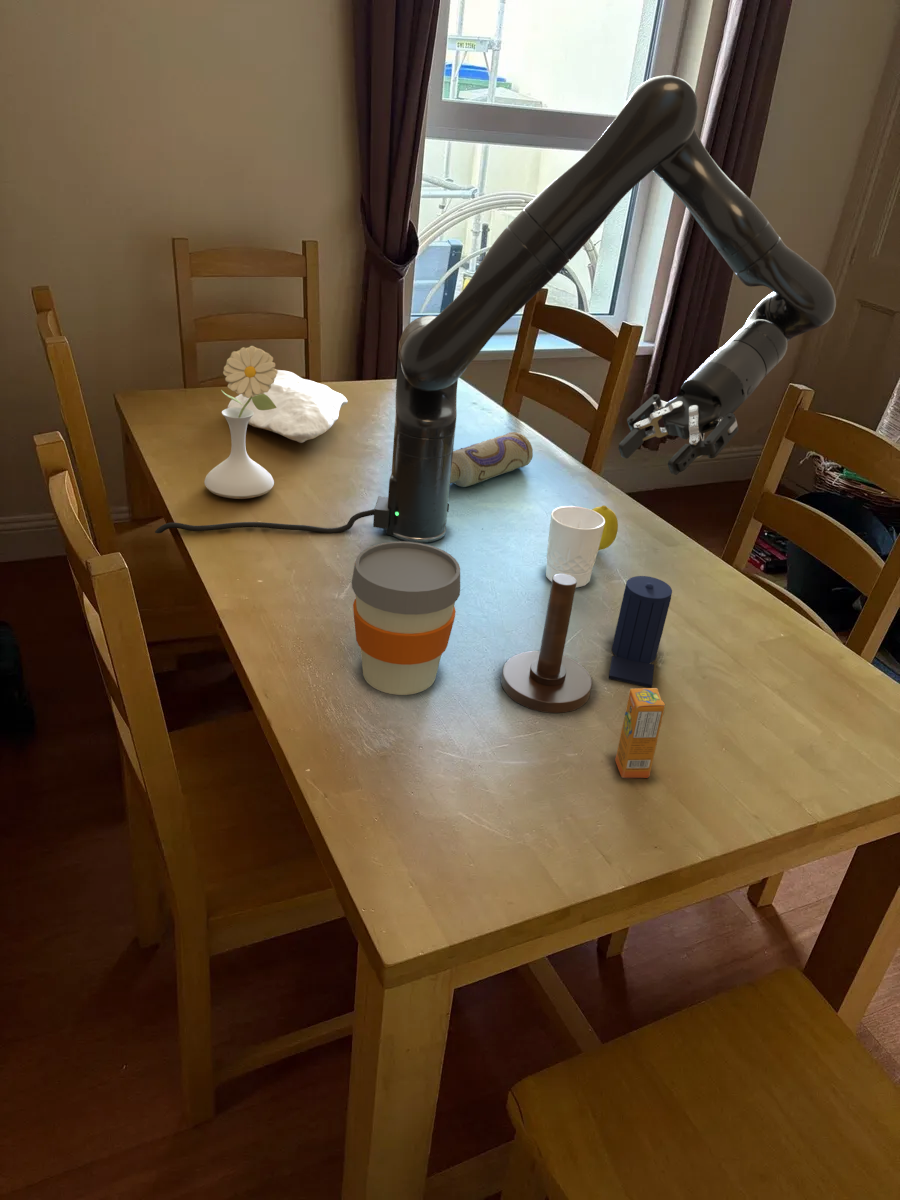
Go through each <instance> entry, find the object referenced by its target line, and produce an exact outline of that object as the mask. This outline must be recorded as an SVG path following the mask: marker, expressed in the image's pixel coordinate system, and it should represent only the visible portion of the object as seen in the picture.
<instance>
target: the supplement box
mask: <svg viewBox="0 0 900 1200" xmlns="http://www.w3.org/2000/svg"><path fill="white" fill-rule="evenodd" d="M659 691H660V690H659V689H658V687H651V688H650V687H639V688H638V687H637V688H635V687H634V688H630V689H629V694H628V698H627V704H626V708H625V711H624V717H623V721H622V727H621V731H620V735H619V736H620V737H619V740H618V745H617V750H616V755H615V758H614V761H615V763H616V767H617V769H618V772H619V775H620V777H621V778H622V779H647V778H648V779H649V778H650V775H651V771H652V767H653V763H654V758H655V754H656V749H657V745H658V740H659V735H660V731H661V727H662V723H663V717H664V712H665V706H666V704H665V702H664V701H663V699H662V697H661V696H660V693H659Z"/></svg>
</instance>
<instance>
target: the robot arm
mask: <svg viewBox="0 0 900 1200" xmlns="http://www.w3.org/2000/svg"><path fill="white" fill-rule="evenodd" d="M697 97H698V96H697V95H696V91H695V90H694V89H693V87H692V85H691V84H690V83H689V82H688V81H686V80H685V79H683V78H681V77H678V76H674V75H667V74H666V75H658V76H655V77H652V78H649V79H647V80H646V81H644V82H642V83H641V84H640V85H638V86H637V87H636V88H635V89H634V91H633V92H632V93H631V95H630V96H629V97H628V98H627V100H626V101H625V103H624V105H623V107H622V109H621V110H620V111H619V113H618V114H617V116H616V117H615V118H614V119H613V120H612V122H611V123H610V124H609V126H608V127H607V128H606V129H605V131H604V132H603V133H602V134H601V136H600V137H599V138H598V139H597V140H596V142H594V144H593V145H591V147H590V148H589V149H588V150H587V151H586V153H584V155H583V156H582V157H581V158H579V159H578V160H577V161H576V162H574V163H573V164H572V165H571V166H570V167H569V168H567V169H566V170H565V171H564V172H563V173H561V174H560V175H559V176H558V177H557V178H555V179H554V180H553V181H552V182H550V183H549V184H548V185H547V186H546V187H545V188H544V189H543V190H542V191H541V192H540V193H539V194H537V195H536V196H535V197H534V198H533V200H531V201H530V202H529V203H528V204H527V205H525V207H524V208H523V209H522V210H521V211H520V212H519V213H518V214H517V215H516V217H515V218H514V219H513V220H512V221H511V222H510V223H509V224H508V225H507V226H506V227H505V228H504V230H502V232H501V233H500V234H499V236H497V238H496V240H495V241H494V242H493V243H492V245H491V247H489V249H488V251H487V253H486V254H485V255H484V257H483V259H482V260H481V262H480V263H479V265H478V267H477V268H476V270H475V272H474V273H473V275H472V276H471V278H470V280H469V281H468V282H467V284H466V285H465V287H464V289H462V291H461V292H460V293H459V294H458V295H457V296H456V297H455V298H454V300H453V301H451V302H450V304H448V305H447V306H446V307H445V308H444V309H443V310H441V312H440V313H439V314H437V315H423V316H419V317H417V318H415V319H413V320H412V321H411V322H410V323H409V324H407V325H406V326H405V328H404V330H403V331H402V333H401V335H400V338H399V342H398V349H397V350H398V351H397V362H396V363H397V365H396V381H395V383H396V384H395V386H396V387H395V398H394V402H395V403H394V405H395V406H394V427H393V429H394V431H393V446H392V460H391V473H390V477H389V480H388V496H381V495H378V497H377V499H376V500H377V501H376V504H375V505H374V509H369V510H364V511H360V512H358V513H355V514H354V515H352V516H351V517H350V518H349V520H348V521H347V523H346V524H344V525H342V526H338V527H321V526H314V525H307V524H288V523H276V522H274V523H273V522H262V521H239V522H238V521H237V522H226V523H216V524H205V525H204V524H203V525H192V524H187V523H181V522H175V521H174V522H167V523H164V524H162V525H160V526H159V527H158V528H157V529H156V530H155V531H154V533H155V534H162V533H163V532H165V531H167V530H169V529H179V530H183V531H189V532H210V531H219V530H230V529H241V528H242V529H245V528H246V529H247V528H249V529H250V528H253V529H255V528H258V529H272V530H273V529H274V530H283V531H301V532H302V531H303V532H304V531H305V532H311V533H317V534H338V533H339V534H341V533H344V532H346V531H349V530H350V529H351V528H352V527H353V526H354V524H355V522H356V521H358V520H359V519H362V518H366V517H371V516H373V524H372V527H373V528H377V529H378V528H379V529H385V535H387V536H393V537H395V538H396V539H399V540H401V541H404V542H416V543H422V544H425V543H431V542H436V541H438V540H441V539H442V538H443V537H444V536H445V535H446V533H447V532H446V531H447V517H448V516H447V515H448V513H449V512H450V511H449V509H450V503H449V497H450V486H451V483H450V477H451V467H452V457H453V451H454V447H455V436H456V426H457V416H458V415H457V414H458V412H457V396H458V395H457V393H458V382H459V381H458V380H459V378H460V377H461V376H462V375H463V374H464V372H465V371H466V370H467V369H468V367H469V366H470V365H471V364H472V362H473V361H474V360H475V358H476V357H477V356H478V355H479V353H480V352H481V351H482V350H483V348H485V346H486V345H487V344H488V342H489V341H490V340H491V339H492V338H493V337H494V335H495V334H496V333H497V332H498V331H499V330H500V329H501V328H502V327H503V326H504V325H505V324H506V323H507V322H508V321H509V320H510V319H511V318H512V317H513V316H515V315H516V314H517V313H518V312H519V311H521V309H522V308H524V307H525V305H527V303H528V302H530V301H531V300H532V299H533V297H535V296H536V295H537V294H538V293H539V292H540V291H541V290H542V289H543V288H544V287H545V286H546V285H547V284H548V283H550V281H551V280H552V279H554V277H555V276H557V274H558V273H560V271H561V270H562V269H563V268H565V266H566V265H567V264H568V263H570V261H571V260H572V259H573V258H574V257H575V256H576V255H577V254H578V253H579V252H580V250H581V249H582V248H583V247H584V246H585V245H586V243H587V242H588V241H589V240H590V239H591V238H592V236H593V235H594V234H595V233H596V232H597V230H599V228H600V227H601V226H602V224H604V222H605V221H606V220H607V218H608V217H609V215H610V214H611V213H612V211H613V210H614V209H615V208H616V207H617V205H618V204H619V203H620V202H621V200H623V198H624V197H625V196H626V195H627V194H629V192H631V191H632V189H633V188H635V186H636V185H638V184H639V183H640V182H641V181H642V180H643V179H645V178H646V177H647V176H648V175H649V174H650V173H651V172H653V173H654V174H656V175H657V176H658V177H659V178H660V179H661V180H662V181H663V182H664V183H665V184H666V185H667V187H669V189H670V190H671V191H672V192H673V193H674V194H675V195H676V196H677V197H678V199H679V200H680V201H681V202H682V204H683V205H684V206H685V207H686V208H687V210H688V211H689V213H690V214H691V215H692V216H693V219H695V221H696V222H697V223H698V225H699V226H700V227H701V229H702V230H703V232H704V233H705V235H706V236H707V238H708V239H709V241H710V242H711V243H712V244H713V246H714V247H715V249H716V250H717V251H718V253H719V254H720V255H721V257H722V258H723V259H724V261H725V262H726V263H727V265H728V266H729V268H730V269H731V270H732V272H733V273H734V274H735V275H736V277H737V279H739V280H740V282H742V284H743V285H745V286H747V287H752V288H753V287H766V288H768V289H770V290H771V291H772V292H770V293H769V294H768V295H766V296H765V297H764V298H763V299H761V301H760V302H759V303H758V304H757V305H756V306H755V308H754V309H753V310H752V312H751V313H750V315H749V316H748V318H747V320H746V321H745V323H744V325H743V326H742V327H741V328H740V329H739V330H738V331H737V332H736V333H735V334H734V335H732V337H731V338H730V339H729V340H728V341H727V342H725V344H723V345H722V346H721V347H719V348H718V349H717V350H716V351H714V352H713V353H712V354H711V355H710V356H709V357H708V358H707V359H706V360H705V361H704V362H703V363H702V364H701V365H700V366H699V367H698V368H697V369H696V370H695V371H694V372H693V373H692V374H691V375H690V376H689V377H688V378H687V379H686V380H685V381H684V382H683V383H682V385H681V386H680V389H679V392H678V394H677V396H676V397H674V398H673V399H670V400H669V401H666V400H662V399H661V397H660V394H653V395H652V396H651V397H649V398H648V399H647V400H645V402H644V403H643V404H642V405H640V406H639V408H637V409H636V410H635V411H633V413H632V414H630V416H628V417H627V418H626V422H627V424H628V428H629V429H630V432H629V433H628V434H627V435H626V436H624V438H623V439H622V440H621V441H620V442H619V444H618V452H619V454H620V457H621V458H624V459H629V458H630V457H631V456H632V455H633V454H634V453H635V452H636V451H637V450H638V449H639V448H640V447H641V446H642V445H643V444H644V441H647V440H649V439H652V438H655V437H656V438H659V439H660V438H663V437H665V436H673V437H680V438H681V439H683V440H688V443H684V444H683V445H682V446H681V447H680V448H679V449H678V451H677V452H675V454H674V455H673V456H672V457H671V458H670V459H669V460H668V462H667V466H668V469H669V473H670V474H672V475H674V476H677V475H679V474H680V473H682V472H684V471H685V470H686V469H687V468H688V467H689V466H690V465H691V464H692V463H693V462H694V461H695V460H696V459H700V458H702V457H703V456H707V458H708V459H715V458H716V457H717V456H719V454H720V453H721V452H722V451H723V449H724V448H725V447H726V446H727V445H728V444H729V443H730V441H731V440H732V439H733V438H734V437H735V435H736V434H738V432H739V426H738V421H737V418H736V415H735V412H736V411H737V410H738V409H739V408H740V407H741V406H742V404H744V403H745V401H746V400H747V399H748V398H750V396H751V395H752V394H753V393H754V392H755V390H757V388H758V387H759V385H760V384H761V382H762V381H763V380H764V379H765V378H766V377H767V376H768V375H769V374H770V373H771V372H772V370H774V369H775V367H777V365H778V364H779V363H780V362H781V361H782V360H783V358H784V357H785V355H786V353H787V350H788V342H789V341H791V340H792V339H793V338H795V337H797V336H800V335H802V334H805V333H807V332H810V331H813V330H815V329H818V328H820V327H822V326H824V325H825V324H827V323H829V321H831V319H832V317H833V316H834V314H835V311H836V305H837V300H836V294H835V291H834V288H833V286H832V284H831V282H830V281H829V279H828V278H827V277H826V276H825V275H824V274H823V273H822V272H821V271H819V269H817V268H816V267H815V266H813V265H812V264H810V262H809V261H807V260H806V259H805V258H804V257H802V256H801V255H800V254H798V253H797V252H796V251H794V250H793V249H791V248H789V247H788V246H787V245H786V244H785V242H784V241H783V239H782V237H780V235H779V233H777V231H776V230H775V229H774V227H773V225H772V224H771V223H770V221H769V219H768V218H767V217H766V215H764V213H763V212H762V211H761V210H760V208H759V207H758V206H757V205H756V203H754V201H753V200H752V199H751V198H750V197H749V196H748V195H747V194H746V193H744V191H743V190H742V189H741V188H739V187H738V185H736V184H735V182H734V181H733V180H732V179H731V178H729V177H728V175H727V174H726V173H725V172H724V171H723V170H722V169H721V168H720V166H719V165H718V164H717V162H716V161H715V160H714V159H713V158H712V156H711V155H710V153H709V152H708V150H707V149H706V147H705V146H704V144H703V142H702V141H701V139H700V137H699V134H698V133H697V131H696V125H697V122H698V117H699V104H698V98H697ZM660 420H663V425H664V427H661V426H660V423H659V421H660ZM650 426H651V427H652V428H651V429H649V430H645V429H646V428H648V427H650ZM710 431H711V432H710ZM708 432H710V433H709V434H708V435H707V436H706V438H705V434H706V433H708Z"/></svg>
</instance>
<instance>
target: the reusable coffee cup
mask: <svg viewBox="0 0 900 1200" xmlns="http://www.w3.org/2000/svg"><path fill="white" fill-rule="evenodd" d="M351 589H352V591H353V593H354V595H355V597H354V598H355V599H354V601H353V603H352V610H353V621H354V629H355V630H354V631H355V632H354V633H355V640H356V641H355V642H356V643H357V645H358V647H359V648H360V655H361V666H362V667H361V668H362V676H363V678H364V680H365V681H366V683H367V684H368V685H370V686H371V688H374V689H375V690H377V691H380V692H382V693H384V694H385V693H386V694H390V695H396V696H408V695H414V694H417V693H421V692H424V691H426V690H428V689H429V688H430V687H431V686H432V685H433V684H434V683H435V680H436V678H437V673H438V670H439V666H440V662H441V659H442V655H443V653H444V652H445V651H446V650H447V647H448V644H449V641H450V639H451V638H450V637H451V634H452V630H453V626H454V623H455V618H456V611H457V610H456V607H455V604H456V602H457V601H458V599H459V597H460V595H461V566H460V563H459V562H458V561H457V559H456V558H455V557H454V556H453V555H452V554H450V553H448V552H447V551H445V550H443V549H441V548H439V547H436V546H433V545H430V544H427V543H418V542H409V541H404V540H401V541H400V540H397V541H388V542H381V543H378V544H374V545H371V546H369V547H367V548H365V549H363V550H362V551H360V552H359V554H357V556H356V558H355V561H354V568H353V573H352V578H351Z"/></svg>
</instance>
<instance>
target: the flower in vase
mask: <svg viewBox="0 0 900 1200" xmlns="http://www.w3.org/2000/svg"><path fill="white" fill-rule="evenodd" d="M273 361H274V357H273V356H272V355H271V354H270V353H269V352H266V351H265V350H263V349H262V348H258V347H255V346H254V345H250V346H249V347H241V348H239V350H237V351H235V350H233V351H232V352H231V353H230V356H229V358H227V359H226V363H225V365H224V366H223V371H222V374H223V375H224V377H225V379H224V380H225V382H226V383H228V384H227V388H228V389H229V390H231V391H232V392H235V393H236V394H237V395H240V394H242V395H243V396H244V397H246V398H249V400H248V401H247V402H246V404H245V405H244V406H243V408H239V407H234V408H228V407H227V408H225V409H223V410H221V415H222V416H223V417H224V419H225V421H226V422H227V424H228V427H229V433H230V441H231V449H230V453H229V456H228V457H227V458H225V459H224V460H223V461H221V462H220V463H218V464H217V465H216V466H214V467H213V468H212V469H211V470H210V471H209V472H208V473H207V474H206V476H205V478H204V482H203V484H204V486H205V487H206V489H207V490H208V491H209V492H211V493H212V494H213V495H216V496H218V497H223V498H227V499H235V500H244V499H245V500H246V499H253V498H257V497H261V496H263V495H266V494H268V493H269V492H270V491H271V490H272V489H273V488H274V485H275V480H274V478H273V475H272V474H271V473H270V472H269V471H268V470H267V469H266V468H265V467H263V466H262V465H260V464H259V463H258V462H256V461H254V460H253V459H252V458H251V457H250V456H249V454H248V453H247V449H246V435H247V428H248V425H249V424H248V422H249V420H250V418H251V417H252V416H253V414H254V413H253V411H251V410H249V409H246V408H245V407H246V406H247V405H248V403H249V402H250V400H251V399H252V401H253V403H254V405H255V407H256V408H257V409H258V410H269V409H274V408H276V406H275V404H274V403H273V402H272V400H271V399H270V398H269V397H268V396H267V395H265V394H264V393H265V392H268V391H269V389H270V388H271V384H272V383H274V381H275V380H274V378H276V374H277V373H278V371H277V370H278V369H276V363H275V362H273ZM221 393H223V395H225V396H226V397H227V398H229V399H231V400H234V401H236V402H238V403H240V404H242V403H241V402H240V401H239V400H237V399H236V398H235V397H234V396H232V395H229V394H227V393H225V391H223V390H221ZM242 405H243V404H242Z"/></svg>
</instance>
